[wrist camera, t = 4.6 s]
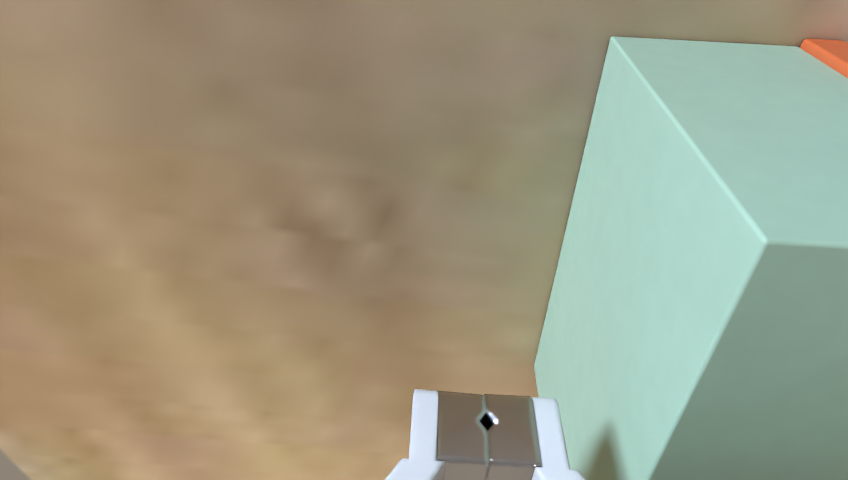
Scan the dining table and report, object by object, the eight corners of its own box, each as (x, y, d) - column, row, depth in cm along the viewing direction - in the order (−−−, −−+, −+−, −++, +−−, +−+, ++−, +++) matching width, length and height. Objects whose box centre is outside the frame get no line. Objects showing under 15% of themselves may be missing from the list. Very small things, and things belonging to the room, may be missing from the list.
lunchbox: (531, 376, 21) (569, 647, 14) (616, 10, 13) (794, 208, 6) (680, 385, 21) (792, 662, 14) (852, 22, 13) (1290, 237, 6)
